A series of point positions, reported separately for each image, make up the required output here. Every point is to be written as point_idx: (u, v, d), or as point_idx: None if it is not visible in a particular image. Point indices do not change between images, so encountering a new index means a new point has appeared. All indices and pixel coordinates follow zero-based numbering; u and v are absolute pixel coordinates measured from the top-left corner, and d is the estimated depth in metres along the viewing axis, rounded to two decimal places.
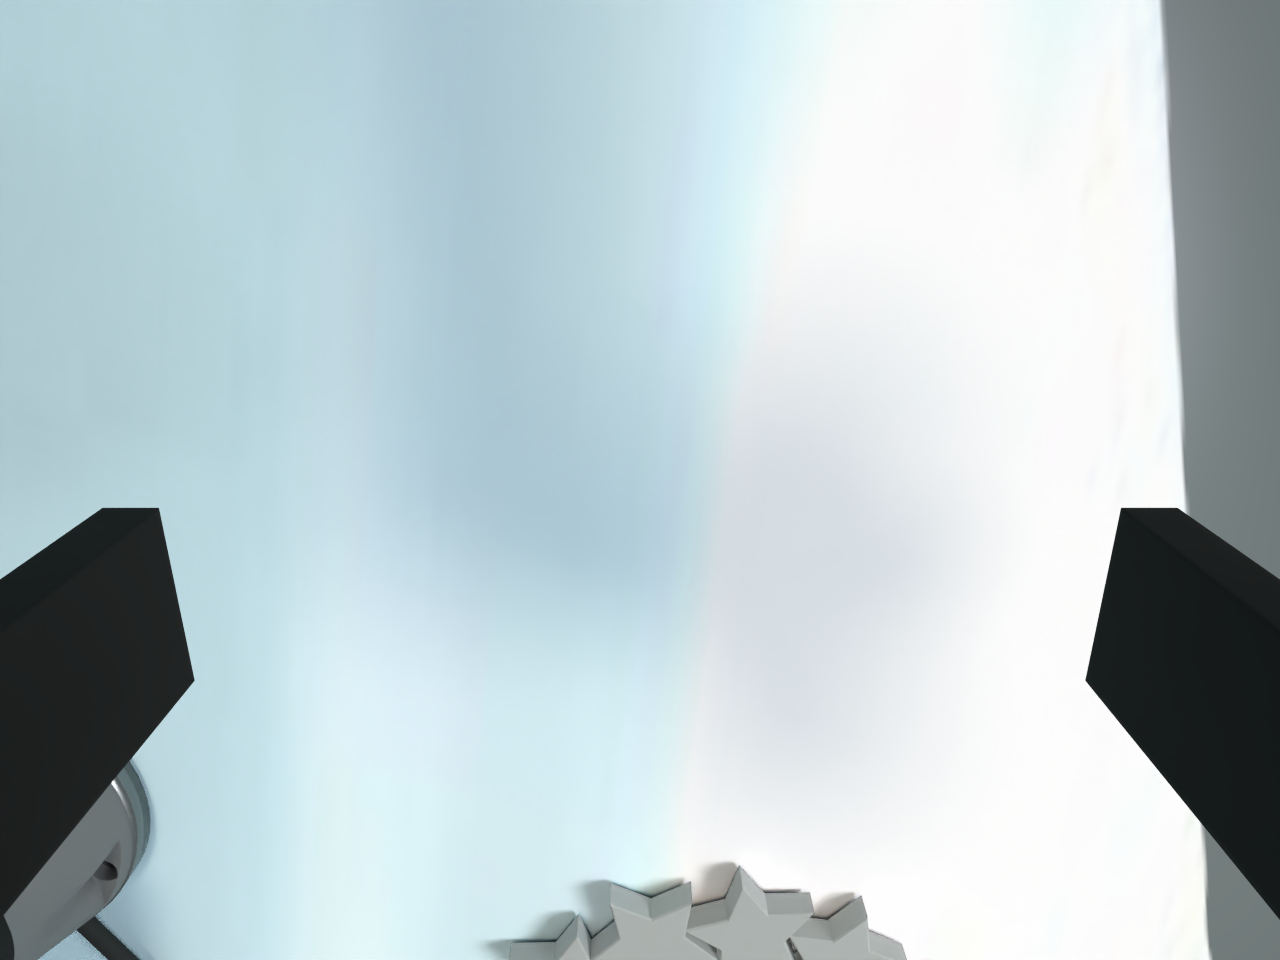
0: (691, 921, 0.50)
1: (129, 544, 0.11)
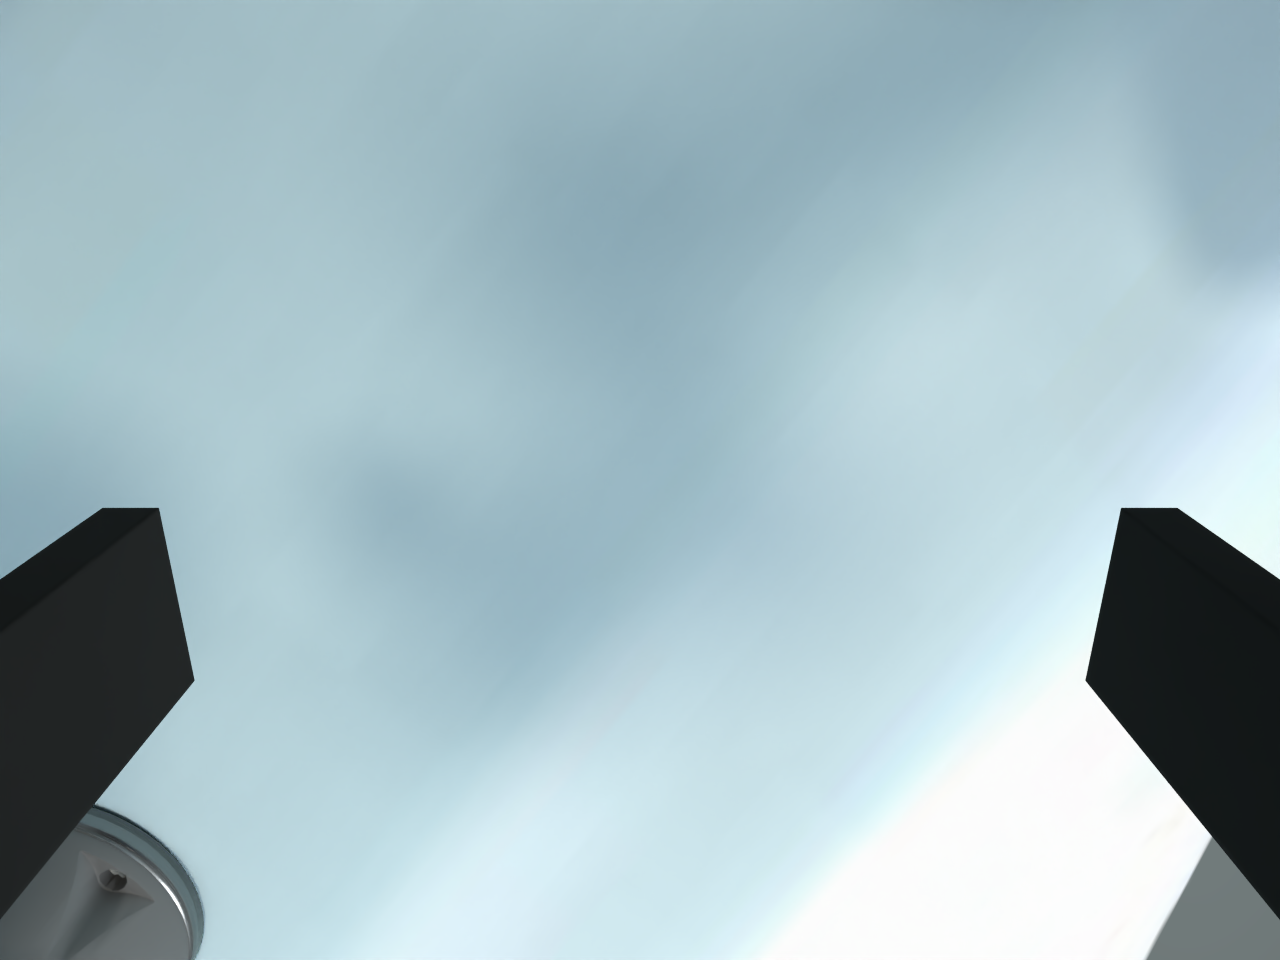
0: None
1: (129, 544, 0.11)
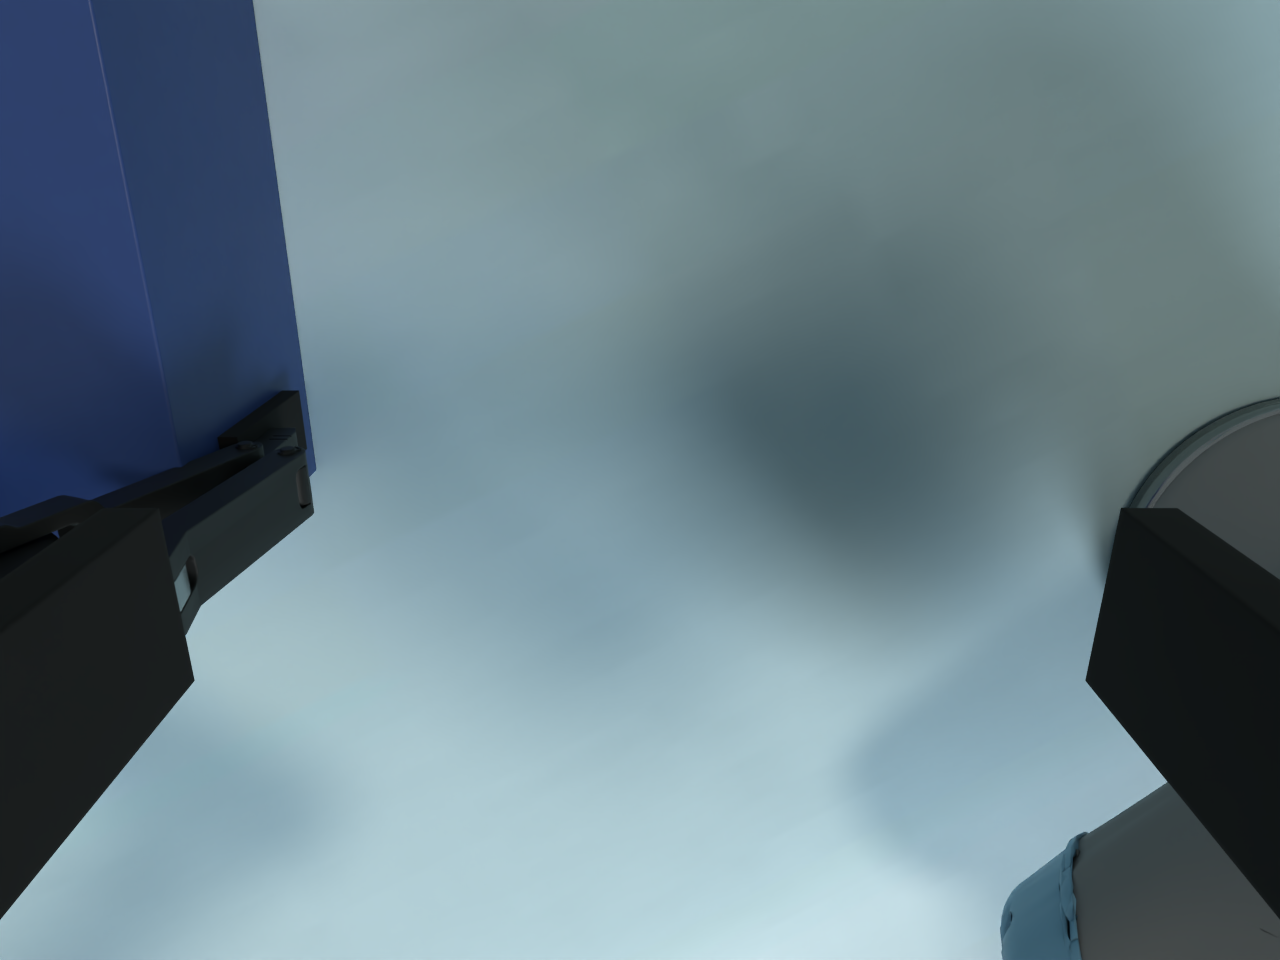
0: None
1: (129, 544, 0.11)
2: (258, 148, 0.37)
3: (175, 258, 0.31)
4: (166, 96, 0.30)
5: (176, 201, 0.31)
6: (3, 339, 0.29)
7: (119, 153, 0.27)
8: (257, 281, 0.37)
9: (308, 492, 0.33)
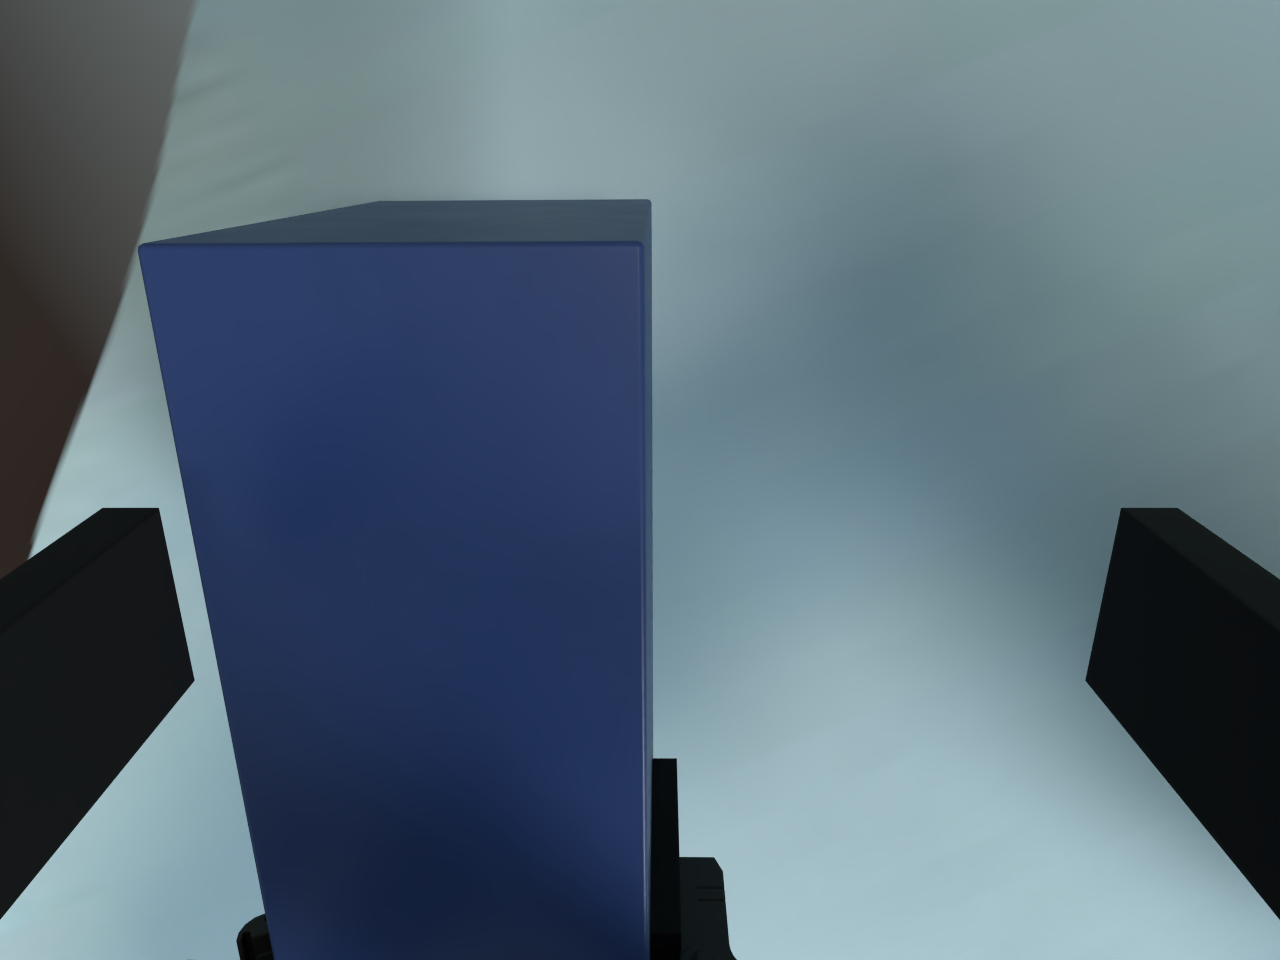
0: None
1: (129, 544, 0.11)
2: None
3: (648, 711, 0.18)
4: (648, 454, 0.18)
5: None
6: (386, 880, 0.17)
7: (643, 615, 0.15)
8: (651, 631, 0.25)
9: None
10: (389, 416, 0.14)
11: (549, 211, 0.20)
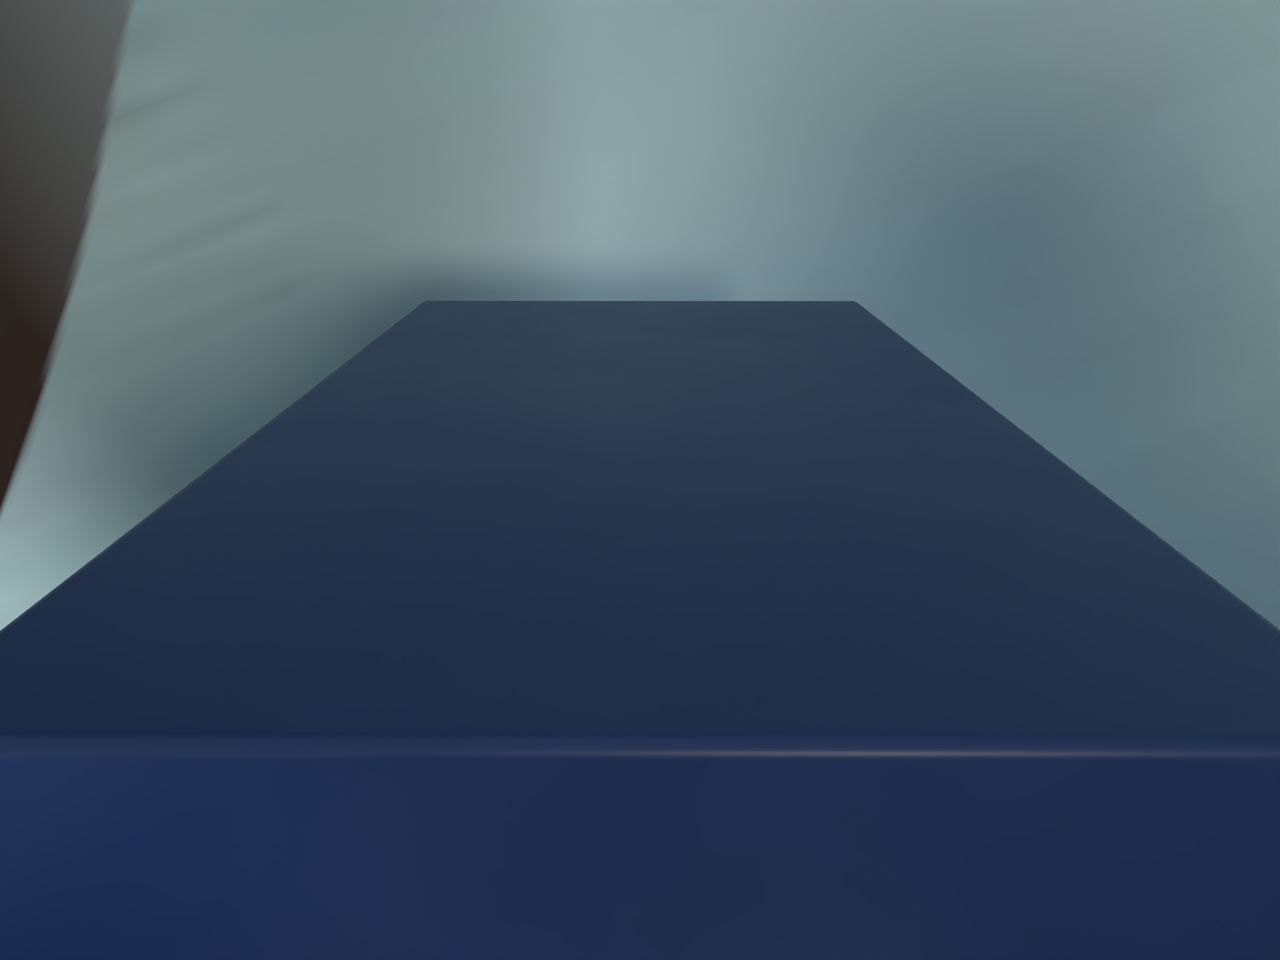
0: None
1: None
2: None
3: None
4: None
5: None
6: None
7: None
8: None
9: None
10: None
11: (771, 373, 0.11)
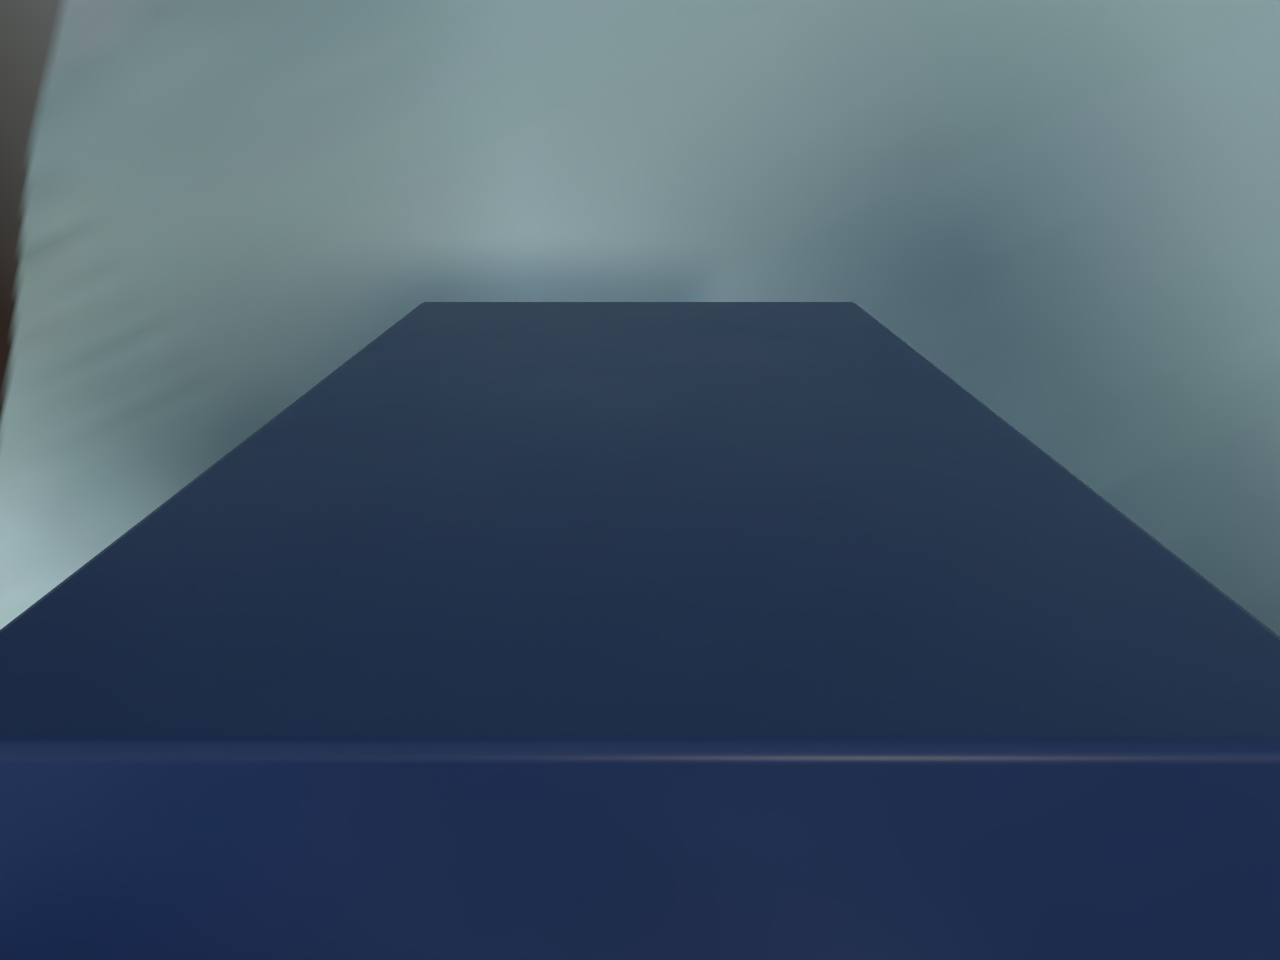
0: None
1: None
2: None
3: None
4: None
5: None
6: None
7: None
8: None
9: None
10: None
11: (769, 374, 0.11)
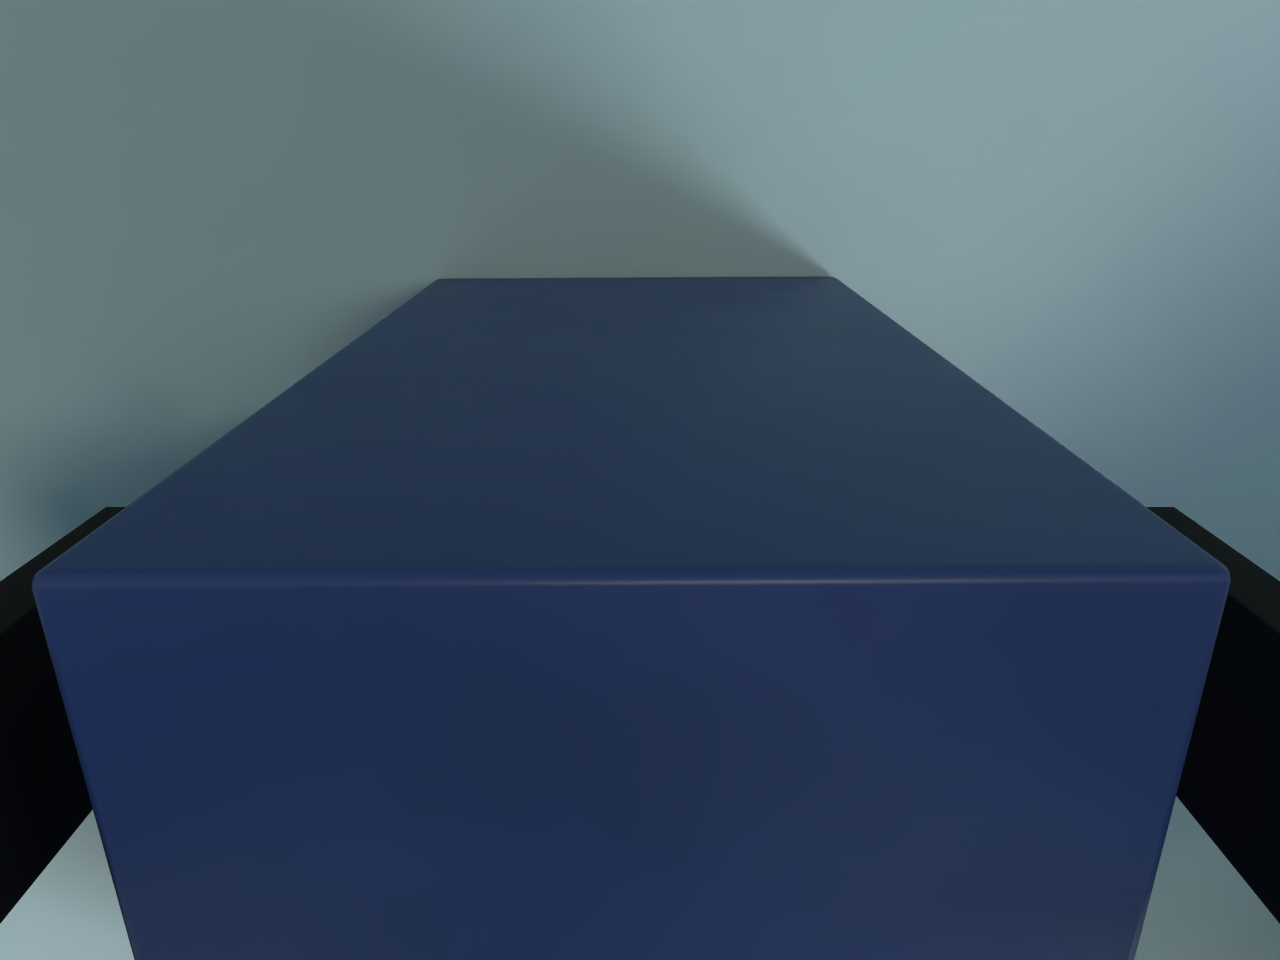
0: None
1: None
2: None
3: None
4: None
5: None
6: None
7: None
8: None
9: None
10: (600, 901, 0.06)
11: (752, 333, 0.12)
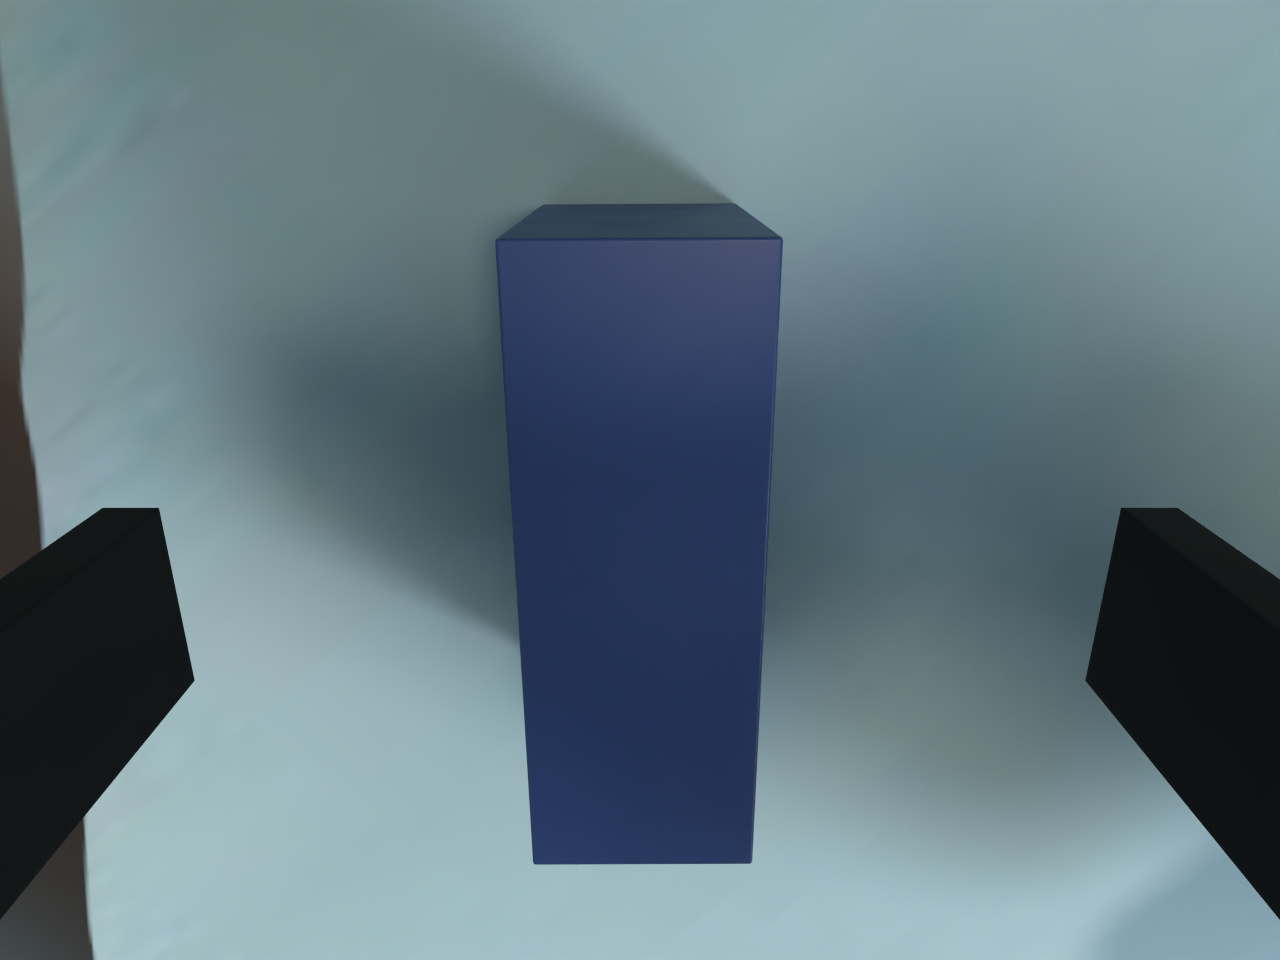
0: None
1: (129, 544, 0.11)
2: None
3: None
4: None
5: None
6: (600, 635, 0.28)
7: (770, 458, 0.26)
8: None
9: None
10: (630, 338, 0.24)
11: (686, 214, 0.30)
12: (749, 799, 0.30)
